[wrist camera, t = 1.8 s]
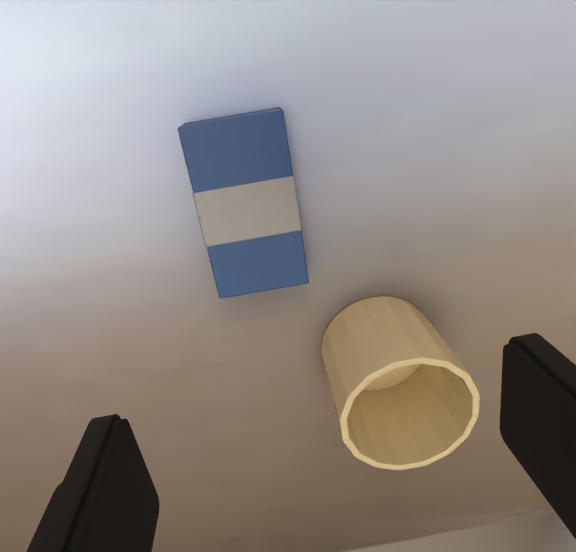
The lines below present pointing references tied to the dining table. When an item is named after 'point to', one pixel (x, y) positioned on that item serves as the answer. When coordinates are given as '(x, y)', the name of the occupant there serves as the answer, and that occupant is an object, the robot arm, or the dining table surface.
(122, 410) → the dining table surface
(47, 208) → the dining table surface
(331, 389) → the beige cup
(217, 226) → the block
